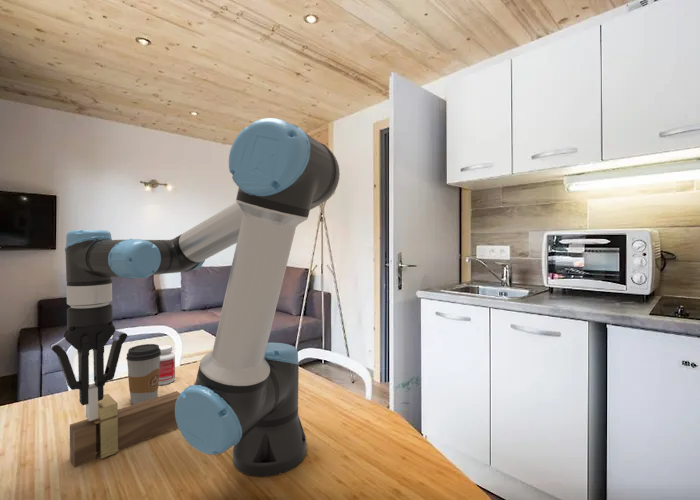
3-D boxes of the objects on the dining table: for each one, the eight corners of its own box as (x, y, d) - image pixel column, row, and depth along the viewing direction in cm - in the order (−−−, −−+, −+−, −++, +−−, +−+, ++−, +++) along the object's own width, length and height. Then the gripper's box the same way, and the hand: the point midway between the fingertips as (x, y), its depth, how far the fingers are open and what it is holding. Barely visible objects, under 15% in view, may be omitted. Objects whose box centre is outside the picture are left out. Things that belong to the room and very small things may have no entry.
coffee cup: (145, 409, 91) (145, 353, 91) (119, 406, 93) (118, 351, 93) (168, 396, 100) (167, 344, 99) (143, 393, 101) (142, 342, 101)
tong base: (184, 424, 84) (184, 394, 84) (74, 467, 68) (74, 430, 68) (176, 418, 87) (176, 389, 87) (70, 458, 71) (69, 422, 71)
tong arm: (183, 424, 84) (183, 396, 84) (103, 455, 72) (103, 422, 72) (180, 421, 86) (180, 393, 85) (101, 452, 73) (100, 419, 73)
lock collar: (118, 452, 73) (117, 403, 72) (100, 458, 70) (100, 408, 70) (108, 440, 77) (108, 393, 77) (92, 446, 75) (91, 398, 75)
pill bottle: (177, 381, 110) (177, 347, 109) (156, 387, 105) (156, 351, 105) (171, 376, 114) (171, 343, 114) (150, 381, 110) (150, 347, 110)
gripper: (120, 298, 79) (122, 401, 79) (45, 306, 69) (47, 423, 69) (132, 302, 74) (133, 411, 74) (52, 311, 64) (55, 437, 64)
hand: (92, 417), depth 72 cm, fingers closed
